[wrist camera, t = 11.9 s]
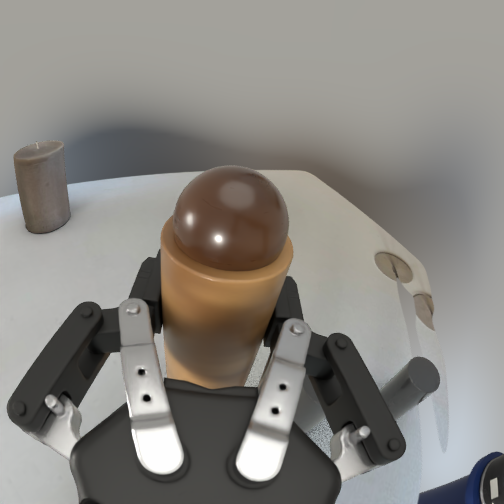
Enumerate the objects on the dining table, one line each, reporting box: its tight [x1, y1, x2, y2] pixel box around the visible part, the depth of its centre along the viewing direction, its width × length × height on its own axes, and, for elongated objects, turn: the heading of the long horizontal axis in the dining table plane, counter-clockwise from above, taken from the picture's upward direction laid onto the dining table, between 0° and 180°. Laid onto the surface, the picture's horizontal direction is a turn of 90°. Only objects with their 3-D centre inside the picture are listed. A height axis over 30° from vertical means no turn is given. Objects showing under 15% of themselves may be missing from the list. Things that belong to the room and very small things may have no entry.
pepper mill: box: [161, 165, 293, 389], centre depth 13 cm, size 5×5×14 cm
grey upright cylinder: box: [293, 374, 326, 433], centre depth 23 cm, size 4×4×8 cm
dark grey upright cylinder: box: [379, 357, 440, 420], centre depth 24 cm, size 4×4×8 cm
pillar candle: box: [14, 141, 70, 233], centre depth 37 cm, size 10×10×15 cm
